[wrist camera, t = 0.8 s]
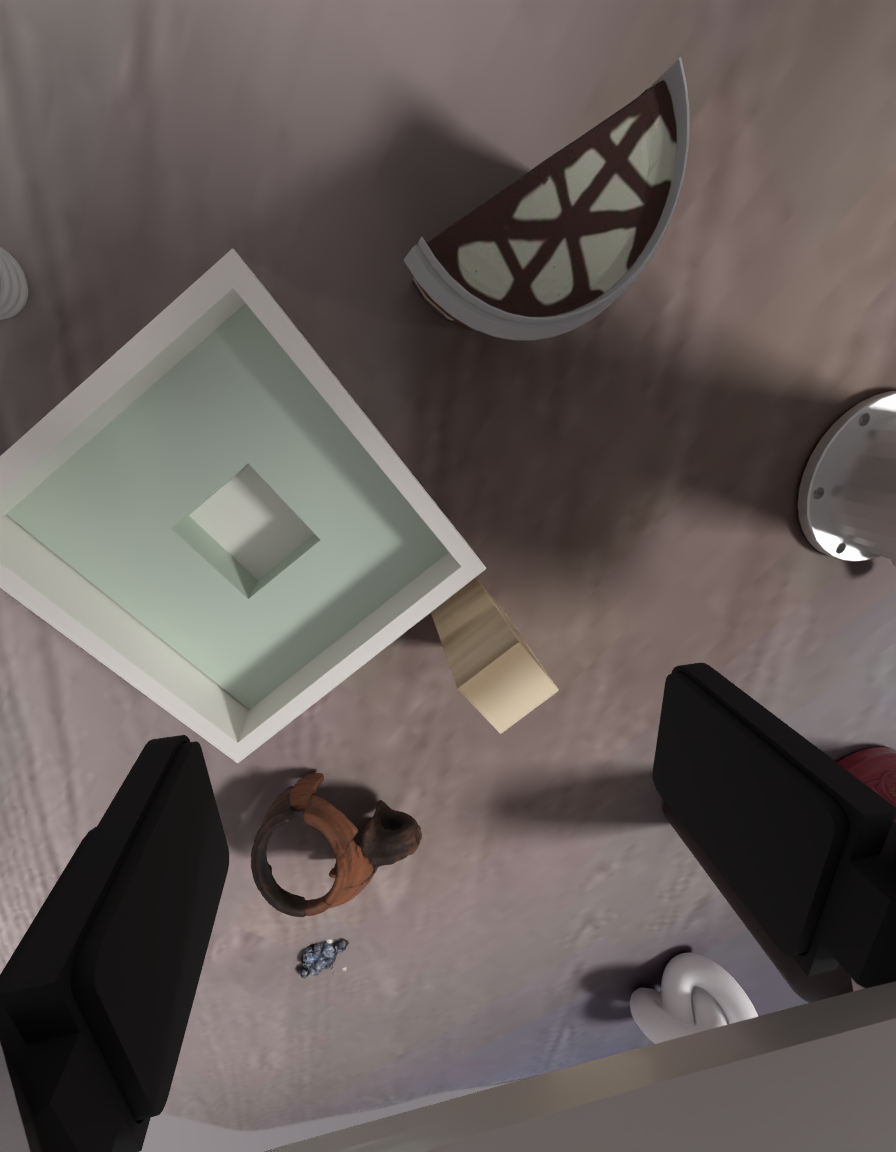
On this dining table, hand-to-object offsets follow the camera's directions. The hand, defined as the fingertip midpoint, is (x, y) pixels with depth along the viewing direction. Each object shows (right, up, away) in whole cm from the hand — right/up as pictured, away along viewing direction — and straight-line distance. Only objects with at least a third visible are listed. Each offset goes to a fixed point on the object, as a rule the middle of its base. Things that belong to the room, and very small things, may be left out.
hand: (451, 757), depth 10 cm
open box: (-12, +7, +20) cm, 25 cm away
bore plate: (-12, +7, +20) cm, 25 cm away
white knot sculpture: (+26, -42, +46) cm, 68 cm away
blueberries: (-12, -31, +35) cm, 49 cm away
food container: (+3, +20, +19) cm, 28 cm away
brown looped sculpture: (-9, -15, +30) cm, 34 cm away
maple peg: (+1, +1, +25) cm, 25 cm away
